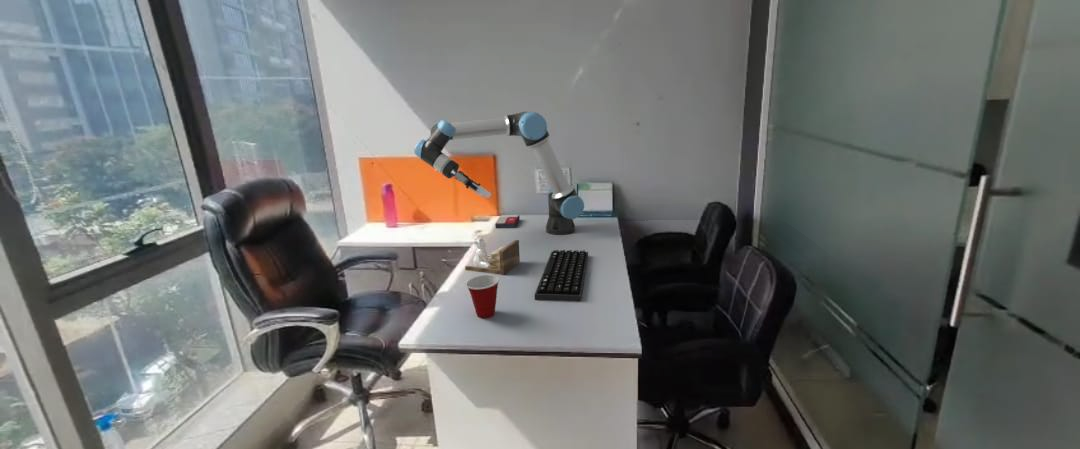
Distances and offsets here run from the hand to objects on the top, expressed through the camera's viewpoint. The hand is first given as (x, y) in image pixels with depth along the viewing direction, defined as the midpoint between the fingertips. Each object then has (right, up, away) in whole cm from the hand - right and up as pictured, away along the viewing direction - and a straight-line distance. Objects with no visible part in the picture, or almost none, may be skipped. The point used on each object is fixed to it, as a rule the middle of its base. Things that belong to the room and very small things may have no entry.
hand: (487, 195), depth 193 cm
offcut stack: (+7, -30, -5) cm, 31 cm away
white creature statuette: (-1, -30, -1) cm, 30 cm away
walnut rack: (+2, -30, -3) cm, 30 cm away
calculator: (+5, -13, +59) cm, 61 cm away
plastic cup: (+5, -42, -45) cm, 61 cm away
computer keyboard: (+32, -33, -15) cm, 49 cm away
